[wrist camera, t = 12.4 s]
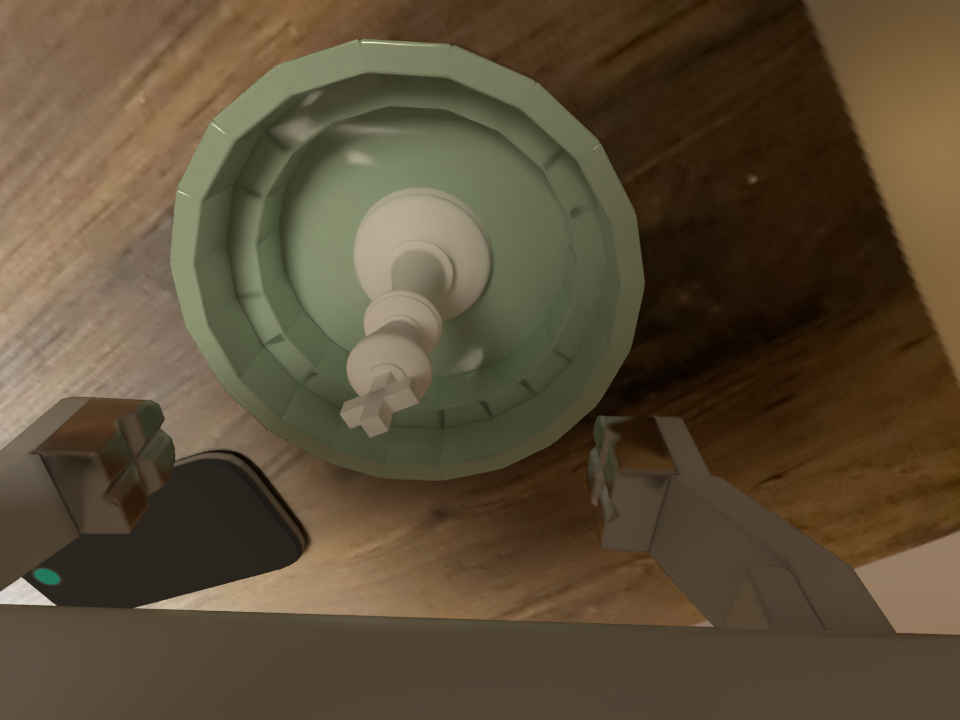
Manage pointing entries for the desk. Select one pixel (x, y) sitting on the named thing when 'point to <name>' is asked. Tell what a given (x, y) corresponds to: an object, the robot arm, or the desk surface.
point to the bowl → (331, 237)
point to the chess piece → (410, 296)
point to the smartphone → (178, 541)
